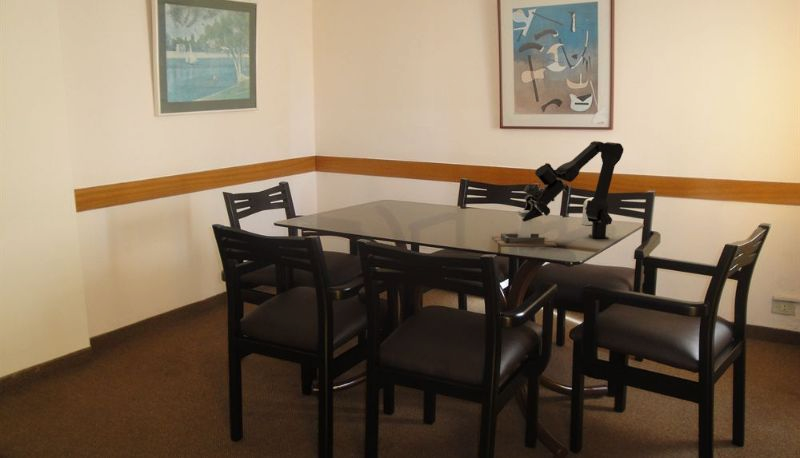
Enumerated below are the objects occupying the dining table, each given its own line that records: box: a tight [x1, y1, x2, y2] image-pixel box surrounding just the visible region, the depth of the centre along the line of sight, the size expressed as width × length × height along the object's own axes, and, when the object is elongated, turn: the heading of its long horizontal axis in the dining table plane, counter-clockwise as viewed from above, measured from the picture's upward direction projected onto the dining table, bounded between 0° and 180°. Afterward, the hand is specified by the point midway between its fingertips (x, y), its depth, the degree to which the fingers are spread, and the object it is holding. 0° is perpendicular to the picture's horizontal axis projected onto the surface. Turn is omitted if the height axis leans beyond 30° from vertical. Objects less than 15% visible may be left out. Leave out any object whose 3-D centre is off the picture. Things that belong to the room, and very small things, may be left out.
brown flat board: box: [491, 233, 557, 247], centre depth 282 cm, size 16×22×2 cm
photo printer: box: [581, 196, 594, 226], centre depth 322 cm, size 10×4×12 cm, turn 123°
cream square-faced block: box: [517, 209, 532, 238], centre depth 280 cm, size 5×4×11 cm
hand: (521, 219), depth 280 cm, fingers closed on cream square-faced block, 5 cm apart
